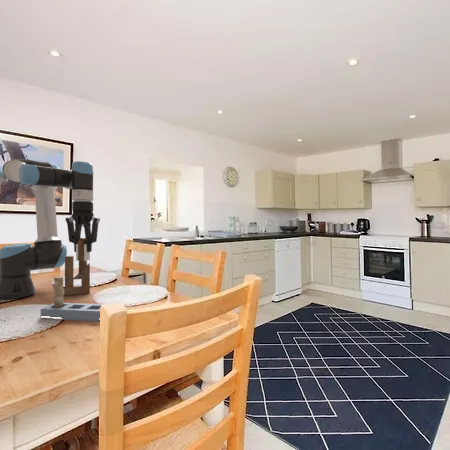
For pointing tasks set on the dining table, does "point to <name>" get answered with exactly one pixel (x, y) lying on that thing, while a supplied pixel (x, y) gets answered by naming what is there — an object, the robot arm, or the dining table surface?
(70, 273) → the wooden block
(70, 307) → the hole block
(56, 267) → the robot arm
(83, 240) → the walnut dowel
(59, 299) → the beech dowel
